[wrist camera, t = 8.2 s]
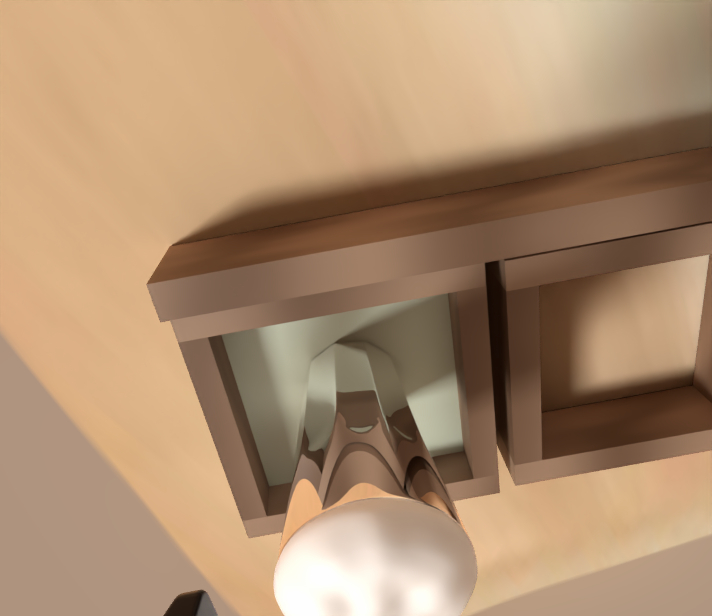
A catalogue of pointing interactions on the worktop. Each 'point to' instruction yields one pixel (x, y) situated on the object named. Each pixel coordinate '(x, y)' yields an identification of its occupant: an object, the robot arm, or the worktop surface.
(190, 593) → the robot arm
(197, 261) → the divided wooden tray
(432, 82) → the worktop surface
